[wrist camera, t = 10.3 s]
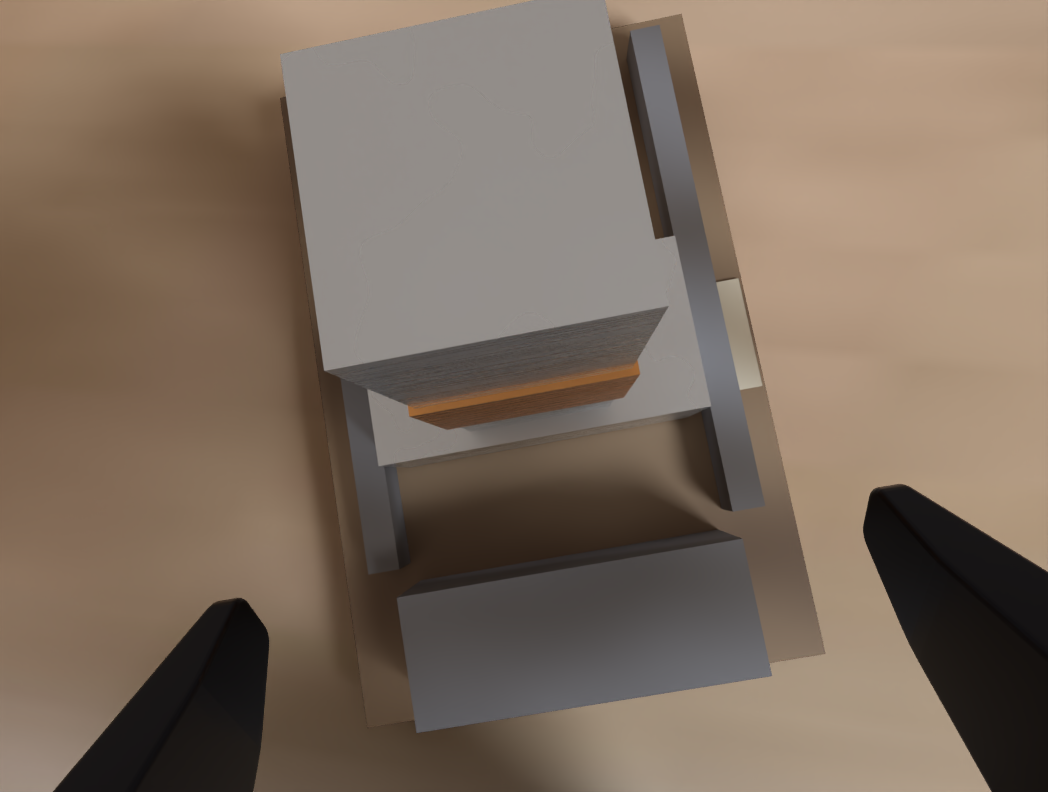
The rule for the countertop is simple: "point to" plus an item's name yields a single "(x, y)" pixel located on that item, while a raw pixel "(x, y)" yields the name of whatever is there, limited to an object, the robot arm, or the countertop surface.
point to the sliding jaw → (487, 234)
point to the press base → (585, 500)
